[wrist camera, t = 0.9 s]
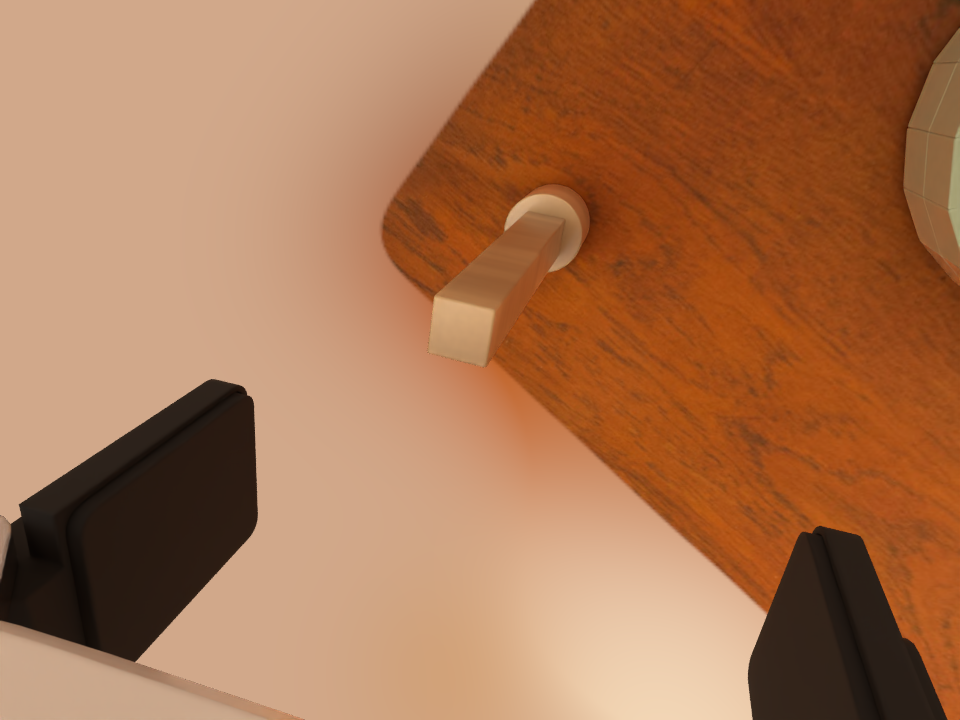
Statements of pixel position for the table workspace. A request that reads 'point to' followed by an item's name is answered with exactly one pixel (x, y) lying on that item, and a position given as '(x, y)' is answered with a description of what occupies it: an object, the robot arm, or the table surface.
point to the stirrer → (507, 275)
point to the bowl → (937, 161)
